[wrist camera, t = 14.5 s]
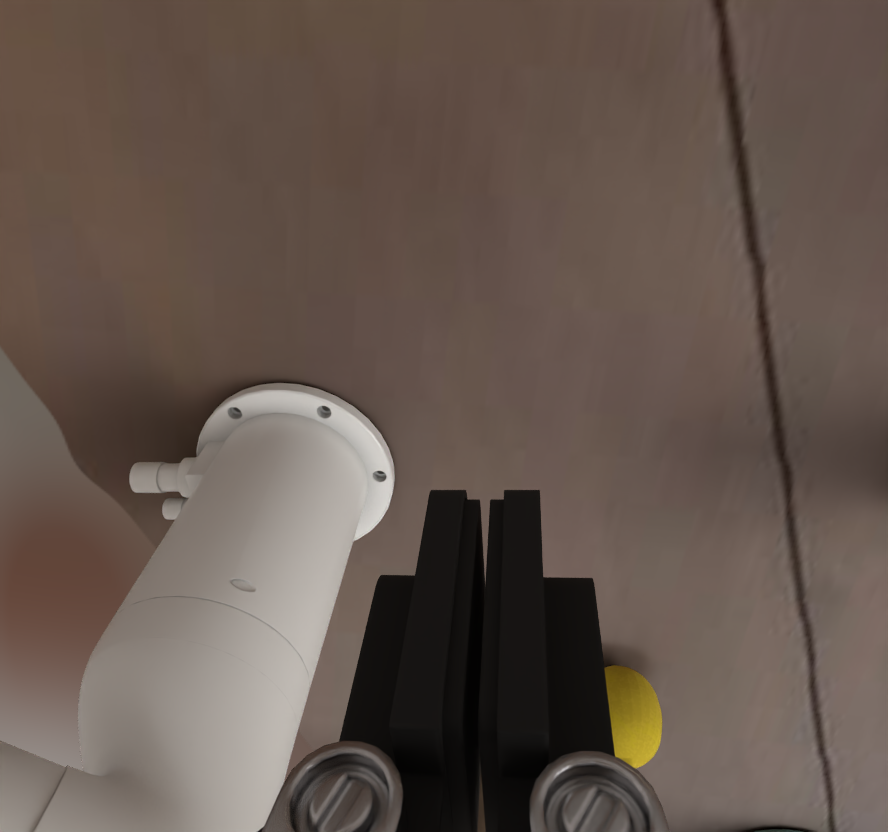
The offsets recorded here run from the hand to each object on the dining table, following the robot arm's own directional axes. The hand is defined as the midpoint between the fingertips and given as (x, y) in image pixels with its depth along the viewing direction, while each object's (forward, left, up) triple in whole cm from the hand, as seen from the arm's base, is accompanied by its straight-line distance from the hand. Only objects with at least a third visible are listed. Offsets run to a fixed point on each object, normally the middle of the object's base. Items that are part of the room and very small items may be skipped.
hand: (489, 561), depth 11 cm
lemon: (+7, -37, -27) cm, 47 cm away
